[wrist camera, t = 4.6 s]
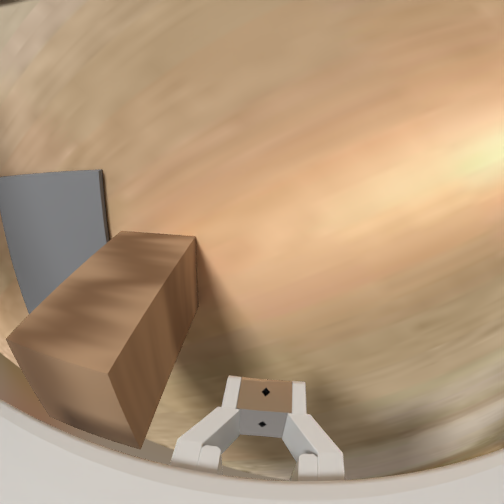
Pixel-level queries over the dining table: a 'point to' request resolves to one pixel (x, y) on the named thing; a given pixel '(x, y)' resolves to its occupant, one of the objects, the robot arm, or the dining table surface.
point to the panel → (51, 227)
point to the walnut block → (112, 335)
